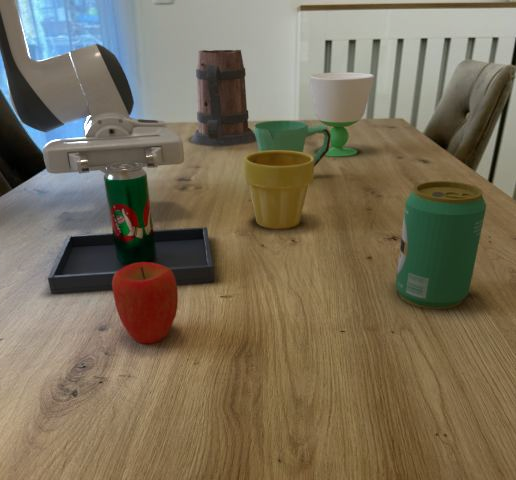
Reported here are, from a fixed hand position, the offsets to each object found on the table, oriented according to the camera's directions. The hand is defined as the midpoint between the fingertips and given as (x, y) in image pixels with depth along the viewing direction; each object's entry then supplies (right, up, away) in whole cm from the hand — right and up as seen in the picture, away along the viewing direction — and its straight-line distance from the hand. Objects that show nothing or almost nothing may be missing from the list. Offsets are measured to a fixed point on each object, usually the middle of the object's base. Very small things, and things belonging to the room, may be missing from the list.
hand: (118, 164), depth 77 cm
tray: (+4, -15, -5) cm, 16 cm away
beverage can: (+39, -20, -14) cm, 46 cm away
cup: (+38, +19, +49) cm, 64 cm away
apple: (+9, -24, -20) cm, 33 cm away
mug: (+26, +7, +30) cm, 40 cm away
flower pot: (+23, -6, +9) cm, 25 cm away
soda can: (+4, -14, -5) cm, 16 cm away
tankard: (+10, +26, +62) cm, 68 cm away
